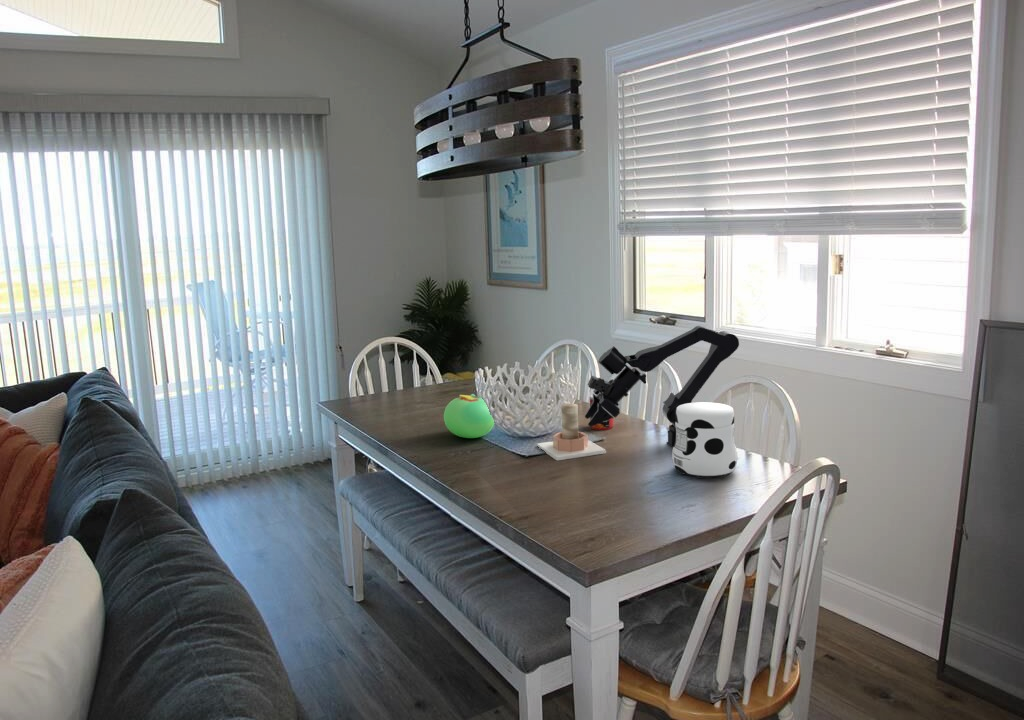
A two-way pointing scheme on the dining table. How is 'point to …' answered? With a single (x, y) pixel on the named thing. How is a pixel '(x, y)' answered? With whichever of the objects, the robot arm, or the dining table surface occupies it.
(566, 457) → the octagonal ring base
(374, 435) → the dining table surface
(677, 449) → the milk container
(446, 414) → the toy bird
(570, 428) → the beech peg
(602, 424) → the canned food
